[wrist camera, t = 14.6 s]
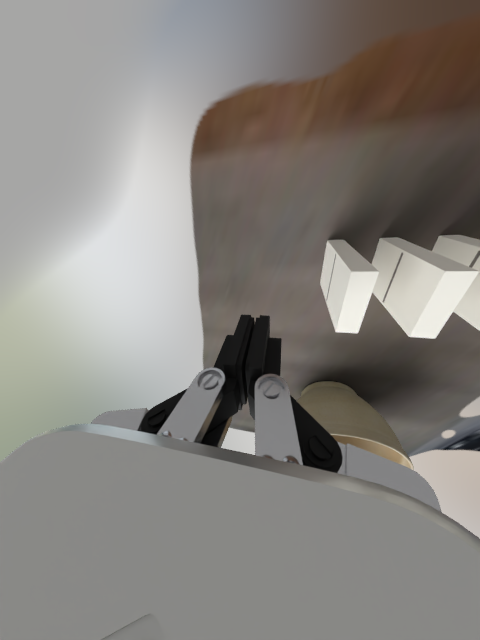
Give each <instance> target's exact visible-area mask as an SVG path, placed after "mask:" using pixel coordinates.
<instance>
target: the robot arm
mask: <svg viewBox="0 0 480 640" xmlns="http://www.w3.org/2000/svg"><path fill="white" fill-rule="evenodd" d="M269 335H270V316H262V315H260V318H256V322H255V324H254V318H252V317H251V315H241V317H240V320H239V322H238V325H237V328H236V330H235V333H234V335H227V336H226V339H225V341H224V343H223V346H222V348H221V351H220V353H219V355H218V358H217V360H216V363H215V365H214V367H213V368H207V369H204V370H202V371H201V372H199V374H198V375H197V376H196V378H195V379H194V380H193V382H192V384H191V385H190V386H189V388H188V389H186V390H184V391H182V392H181V393H178V394H177V395H175V396H173V397H171V398H169V399H167V400H166V401H164V402H162V403H160V404H158V405H156V406H155V407H153V408H152V409H150V410H147V408H142V409H130V410H118V411H109V412H105V413H103V414H101V415H99V416H98V417H96V418H95V419H94V420H93V421H92V422H91V424H75V425H69V426H64V427H61V428H56V429H53V430H50V431H47V432H44V433H42V434H39V435H37V436H35V437H33V438H31V439H30V440H28V441H27V442H25V443H23V444H22V445H21V446H19V447H18V448H17V449H15V450H14V451H13V452H12V453H11V454H9V455H8V456H7V457H6V458H5V459H3V460H2V461H1V462H0V640H480V539H479V538H478V537H477V536H475V535H474V534H473V533H471V532H470V531H468V530H467V529H466V528H464V527H463V526H462V525H460V524H459V523H457V522H456V521H454V520H453V519H451V518H449V517H448V516H446V515H445V514H443V513H442V512H441V509H440V505H439V502H438V499H437V497H436V495H435V492H434V490H433V489H432V488H431V486H430V485H429V484H428V482H427V481H426V480H425V479H424V478H423V477H421V476H420V475H419V474H418V473H417V472H415V471H414V470H412V469H410V468H408V467H406V466H403V465H401V464H398V463H396V462H393V461H391V460H388V459H386V458H383V457H381V456H378V455H376V454H373V453H371V452H368V451H366V450H363V449H361V448H358V447H356V446H353V445H351V444H348V443H347V444H346V445H345V444H342V443H340V442H337V441H336V440H335V439H334V438H333V436H332V435H331V434H330V433H329V432H328V431H326V430H325V429H324V428H323V427H322V426H321V425H320V424H319V423H318V422H317V421H316V420H315V419H314V418H313V417H312V416H311V415H310V414H309V413H308V412H307V411H306V410H305V409H304V408H303V407H302V406H301V405H300V404H299V403H298V402H297V401H296V400H295V399H294V398H293V397H292V396H291V395H290V393H289V388H288V385H287V382H286V381H285V380H284V379H283V378H282V377H280V364H281V338H269ZM247 398H248V402H249V408H250V415H251V416H252V417H253V419H254V420H255V455H252V454H247V453H242V452H237V451H232V450H227V449H223V448H221V446H222V443H223V441H224V438H225V435H226V433H227V431H228V428H229V426H230V423H231V421H232V416H233V415H234V414H236V413H237V412H238V410H242V405H243V404H246V403H247Z"/></svg>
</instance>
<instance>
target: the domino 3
mask: <svg viewBox="0 0 480 640" xmlns="http://www.w3.org/2000/svg"><path fill="white" fill-rule="evenodd" d="M432 252H434V253H437V254H439V255H442V256H444V257H446V258H449V259H451V260H454V261H456V262H458V263H461V264H463V265H466V266H468V267H470V268H473V269H475V270H478V271H479V273H478V274H477V276H476V277H475V279H474V280H473V282H472V284H471V285H470V287H469V288H468V290H467V291H466V293H465V294H464V296H463V297H462V299H461V300H460V302H459V303H458V305H457V306H456V308H455V309H454V311H453V312H455V313H456V314H457V315H459V316H460V317H461V318H463V319H464V320H466V321H467V322H468V323H470V324H471V325H472V326H474V327H475V328H476V329H478V330H479V331H480V240H479V239H475V238H471V237H467V236H463V235H442V236H439V237H438V239H437V241H436V243H435V245H434V247H433V250H432Z"/></svg>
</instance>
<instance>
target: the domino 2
mask: <svg viewBox="0 0 480 640" xmlns="http://www.w3.org/2000/svg"><path fill="white" fill-rule="evenodd" d="M371 265H373V266H374V267H375V268H376V269H377V270H378V271H379V274H378V277H377V280H376V283H375V286H374V288H373V291H372V292H373V293H374V295H375V296H376V297H377V298H378V300H379V301H380V302H381V303H382V304H383V306H384V307H385V308H386V309H387V311H388V312H389V313H390V314H391V315H392V317H393V318H394V319H395V320H396V322H397V323H398V324H399V325H400V326H401V328H402V329H403V330H404V331H405V333H406V334H407V335H408V336H409V337H418V338H433V339H435V338H436V337H437V335H438V334H439V332H440V331H441V329H442V327H443V326H444V324H445V323H446V321H447V320H448V318H449V317H450V315H451V314H452V312H453V311H454V309H455V308H456V306H457V305H458V303H459V302H460V300H461V299H462V297H463V296H464V294H465V293H466V291H467V290H468V288H469V287H470V285H471V284H472V282H473V280H474V279H475V277H476V276H477V274H478V273H479V271H478V270H475V269H473V268H470V267H468V266H466V265H463V264H461V263H458V262H456V261H454V260H451V259H449V258H446V257H444V256H442V255H439V254H437V253H434V252H432V251H430V250H427V249H425V248H422V247H420V246H418V245H415V244H413V243H410V242H408V241H406V240H403V239H401V238H398V237H394V238H380V239H379V242H378V245H377V249H376V252H375V255H374V258H373V261H372V264H371Z"/></svg>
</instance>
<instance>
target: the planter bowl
mask: <svg viewBox="0 0 480 640" xmlns="http://www.w3.org/2000/svg"><path fill="white" fill-rule="evenodd" d="M297 402H298V403H299V404H300V405H301V406H302V407H303V408H304V409H305V410H306V411H307V412H308V413H309V414H310V415H311V416H312V417H313V418H314V419H315V420H316V421H317V422H318V423H319V424H320V425H321V426H322V427H323V428H324V429H325V430H326V431H328V432H329V433H330V434H331V435H332V436H333V438H334V439H335V440H336V441H337V442H340V443H342V444H345V445H346V444H347V443H348V444H351V445H353V446H356V447H358V448H361V449H363V450H366V451H368V452H371V453H373V454H376V455H378V456H381V457H383V458H386V459H388V460H391V461H393V462H396V463H398V464H401V465H403V466H406V467H408V468H410V469H412V470H414V468H413V464H412V462H411V460H410V458H409V457H408V455H407V454H406V452H405V451H404V450H403V449H402V446H401V444H400V442H399V440H398V439H397V437H396V435H395V434H394V432H393V430H392V429H391V428H390V426H389V425H388V423H387V422H386V421H385V420H384V418H383V417H382V416H381V415H380V414H379V413H378V412H377V411H376V410H375V409H374V408H373V407H372V406H371V405H370V404H368V403H367V402H366V401H365V400H363V399H362V398H360V397H359V396H357V394H356V393H355V391H354V390H353V389H351V388H350V387H349V386H347V385H344V384H342V383H338V382H332V381H322V382H316V383H313V384H311V385H309V386H307V387H306V388H305V389H304V390H303V391H302V394H301V397H300V398H299V399H298V401H297Z"/></svg>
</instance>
